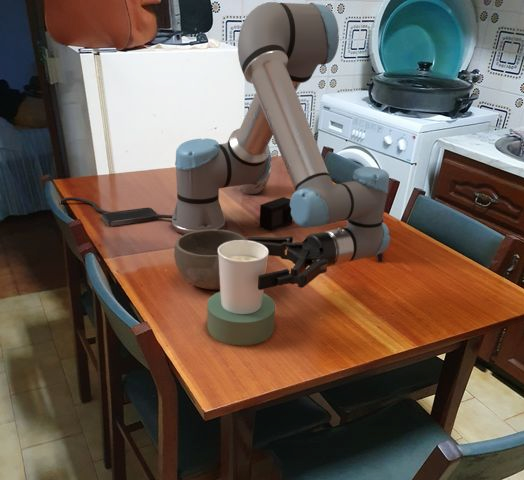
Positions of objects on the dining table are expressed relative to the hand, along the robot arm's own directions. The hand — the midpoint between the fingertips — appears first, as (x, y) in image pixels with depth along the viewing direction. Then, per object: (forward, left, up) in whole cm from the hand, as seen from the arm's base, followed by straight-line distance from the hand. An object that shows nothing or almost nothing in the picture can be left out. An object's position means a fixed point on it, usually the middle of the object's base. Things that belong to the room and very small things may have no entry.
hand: (240, 268), depth 107 cm
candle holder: (0, 0, -8) cm, 8 cm away
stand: (0, 0, -14) cm, 14 cm away
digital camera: (-13, +56, -14) cm, 60 cm away
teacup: (-33, +81, -14) cm, 89 cm away
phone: (-53, +39, -14) cm, 68 cm away
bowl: (-14, +16, -14) cm, 26 cm away
